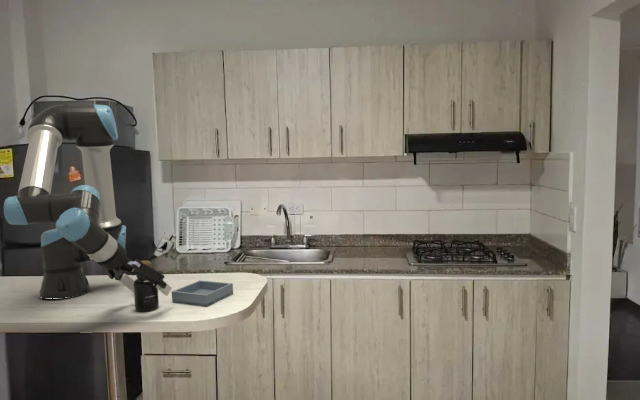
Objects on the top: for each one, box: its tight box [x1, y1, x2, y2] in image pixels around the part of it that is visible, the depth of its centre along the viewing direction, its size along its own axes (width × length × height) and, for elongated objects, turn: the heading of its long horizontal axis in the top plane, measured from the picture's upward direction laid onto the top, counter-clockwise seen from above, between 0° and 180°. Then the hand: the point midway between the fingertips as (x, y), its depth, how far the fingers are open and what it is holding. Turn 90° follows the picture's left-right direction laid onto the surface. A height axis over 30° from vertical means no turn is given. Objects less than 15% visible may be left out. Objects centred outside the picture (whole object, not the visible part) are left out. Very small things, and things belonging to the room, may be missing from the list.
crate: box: [171, 280, 234, 308], centre depth 145 cm, size 14×14×4 cm
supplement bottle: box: [133, 275, 160, 313], centre depth 136 cm, size 7×7×12 cm
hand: (151, 289), depth 138 cm, fingers open, 13 cm apart
